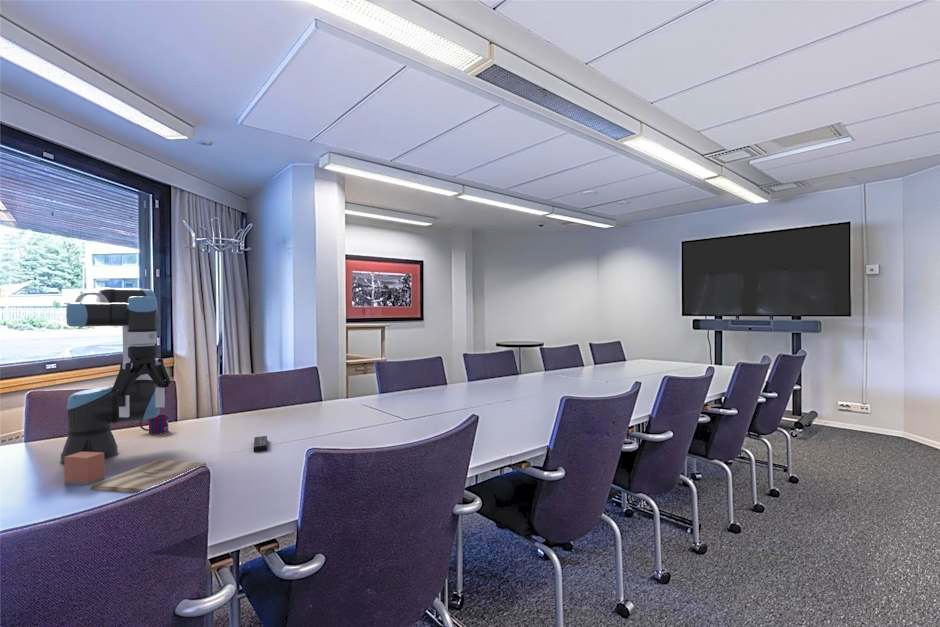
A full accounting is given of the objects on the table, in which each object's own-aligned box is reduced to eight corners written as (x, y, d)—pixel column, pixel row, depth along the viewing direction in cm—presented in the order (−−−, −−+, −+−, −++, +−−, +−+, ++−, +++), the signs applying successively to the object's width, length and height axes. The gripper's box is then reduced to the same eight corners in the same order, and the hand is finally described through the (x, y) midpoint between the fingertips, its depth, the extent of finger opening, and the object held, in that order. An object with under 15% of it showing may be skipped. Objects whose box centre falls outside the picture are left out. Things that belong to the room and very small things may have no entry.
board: (90, 489, 126) (90, 485, 126) (157, 463, 147) (157, 459, 147) (145, 493, 123) (145, 488, 123) (205, 466, 144) (205, 462, 144)
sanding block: (64, 484, 130) (64, 456, 130) (82, 477, 135) (81, 451, 135) (87, 485, 129) (87, 457, 129) (104, 479, 134) (104, 452, 134)
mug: (163, 434, 184) (163, 417, 184) (136, 435, 183) (136, 418, 183) (171, 429, 191) (171, 414, 191) (145, 431, 189) (145, 415, 189)
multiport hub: (253, 453, 159) (253, 447, 159) (254, 443, 172) (254, 437, 172) (267, 451, 161) (267, 445, 161) (266, 441, 174) (266, 435, 174)
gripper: (118, 348, 129) (118, 421, 129) (182, 342, 153) (183, 403, 154) (94, 348, 129) (95, 421, 129) (162, 342, 154) (163, 403, 154)
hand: (143, 412), depth 142 cm, fingers open, 13 cm apart
